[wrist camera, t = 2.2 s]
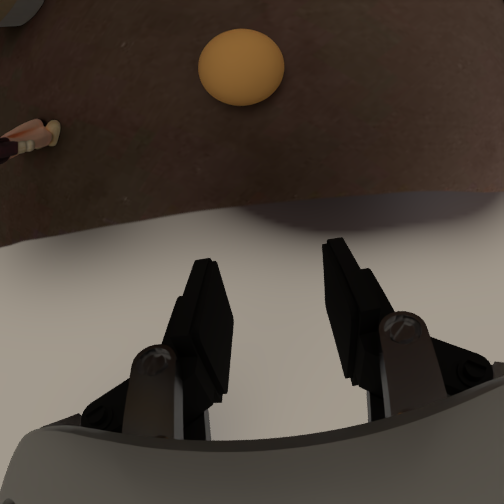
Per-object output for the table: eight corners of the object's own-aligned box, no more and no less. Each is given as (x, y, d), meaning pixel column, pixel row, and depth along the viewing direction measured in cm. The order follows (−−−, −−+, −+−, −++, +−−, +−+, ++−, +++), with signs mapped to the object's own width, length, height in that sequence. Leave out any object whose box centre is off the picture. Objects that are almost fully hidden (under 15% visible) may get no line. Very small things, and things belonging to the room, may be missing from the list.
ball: (273, 34, 17) (278, 12, 12) (286, 100, 20) (297, 97, 15) (200, 48, 18) (182, 30, 13) (213, 112, 21) (199, 114, 16)
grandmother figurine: (65, 105, 20) (-35, 127, 9) (71, 141, 22) (-26, 180, 10) (18, 130, 20) (-68, 162, 9) (24, 161, 22) (-59, 204, 11)
